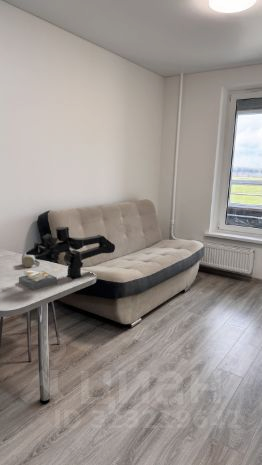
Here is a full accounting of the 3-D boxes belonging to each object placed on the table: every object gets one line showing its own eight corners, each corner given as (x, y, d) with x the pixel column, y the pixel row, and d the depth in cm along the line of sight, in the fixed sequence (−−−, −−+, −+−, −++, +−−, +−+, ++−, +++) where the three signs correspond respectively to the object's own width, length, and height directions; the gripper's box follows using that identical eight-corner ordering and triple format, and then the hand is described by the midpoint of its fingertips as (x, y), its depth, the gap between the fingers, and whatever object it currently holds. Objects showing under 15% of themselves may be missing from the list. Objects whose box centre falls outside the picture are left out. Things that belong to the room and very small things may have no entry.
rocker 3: (42, 276, 165) (41, 273, 164) (45, 277, 163) (44, 274, 162) (32, 280, 161) (32, 277, 161) (36, 281, 159) (35, 278, 159)
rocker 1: (32, 273, 171) (33, 270, 171) (35, 275, 169) (36, 271, 169) (23, 274, 167) (24, 270, 167) (26, 275, 165) (26, 272, 165)
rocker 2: (37, 274, 168) (36, 271, 167) (40, 275, 166) (39, 272, 165) (28, 277, 164) (27, 274, 164) (31, 279, 162) (30, 276, 162)
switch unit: (43, 276, 177) (42, 270, 176) (56, 283, 167) (56, 277, 167) (19, 282, 167) (18, 276, 166) (32, 289, 157) (32, 283, 157)
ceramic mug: (22, 268, 189) (21, 255, 188) (21, 264, 197) (21, 252, 195) (40, 267, 193) (40, 254, 191) (39, 263, 200) (39, 251, 199)
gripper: (47, 229, 171) (19, 236, 161) (67, 236, 158) (38, 244, 148) (49, 249, 174) (22, 257, 164) (68, 257, 161) (40, 266, 151)
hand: (30, 255), depth 157 cm, fingers open, 9 cm apart
